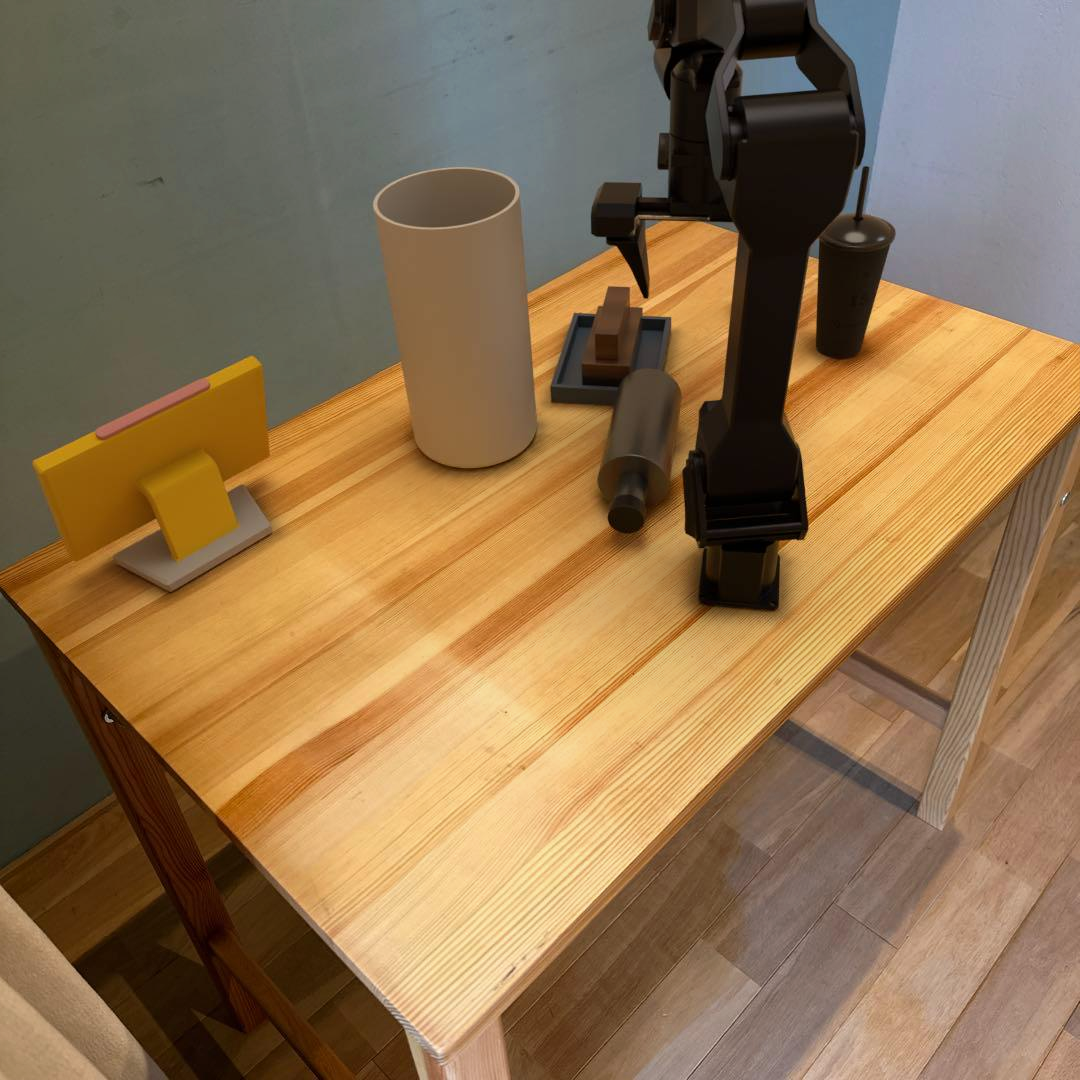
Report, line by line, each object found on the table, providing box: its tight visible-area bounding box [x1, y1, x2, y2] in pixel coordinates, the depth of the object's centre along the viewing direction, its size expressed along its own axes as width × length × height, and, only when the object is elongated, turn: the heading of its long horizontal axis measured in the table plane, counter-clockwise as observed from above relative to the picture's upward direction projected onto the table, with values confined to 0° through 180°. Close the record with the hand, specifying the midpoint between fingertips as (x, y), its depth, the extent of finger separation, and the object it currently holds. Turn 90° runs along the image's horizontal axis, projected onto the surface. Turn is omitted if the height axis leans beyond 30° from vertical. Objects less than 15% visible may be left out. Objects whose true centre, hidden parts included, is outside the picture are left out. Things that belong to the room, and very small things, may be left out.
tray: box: [549, 312, 673, 407], centre depth 109 cm, size 15×11×2 cm
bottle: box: [596, 369, 683, 535], centre depth 93 cm, size 6×19×6 cm, turn 169°
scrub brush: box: [582, 285, 644, 387], centre depth 108 cm, size 12×5×6 cm, turn 169°
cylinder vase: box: [372, 166, 538, 469], centre depth 94 cm, size 12×12×25 cm
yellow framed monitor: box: [31, 355, 273, 593], centre depth 87 cm, size 20×8×16 cm, turn 134°
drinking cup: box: [815, 165, 897, 360], centre depth 103 cm, size 8×8×20 cm
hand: (695, 298), depth 94 cm, fingers open, 9 cm apart
